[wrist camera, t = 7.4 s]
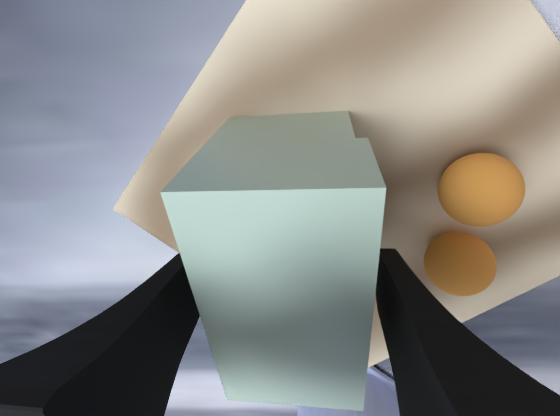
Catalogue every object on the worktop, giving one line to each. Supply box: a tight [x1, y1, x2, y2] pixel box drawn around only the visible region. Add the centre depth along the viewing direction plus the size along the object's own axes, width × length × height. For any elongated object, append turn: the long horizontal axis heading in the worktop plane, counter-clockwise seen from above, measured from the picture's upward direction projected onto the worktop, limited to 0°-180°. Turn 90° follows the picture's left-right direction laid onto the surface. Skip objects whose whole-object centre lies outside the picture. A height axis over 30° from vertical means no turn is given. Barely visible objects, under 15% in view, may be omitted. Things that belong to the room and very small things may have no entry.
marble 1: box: [438, 153, 525, 227], centre depth 13 cm, size 3×3×3 cm
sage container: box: [160, 111, 386, 411], centre depth 13 cm, size 10×6×7 cm, turn 5°
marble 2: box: [424, 232, 497, 296], centre depth 15 cm, size 3×3×3 cm
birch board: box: [113, 0, 560, 368], centre depth 16 cm, size 20×19×1 cm
